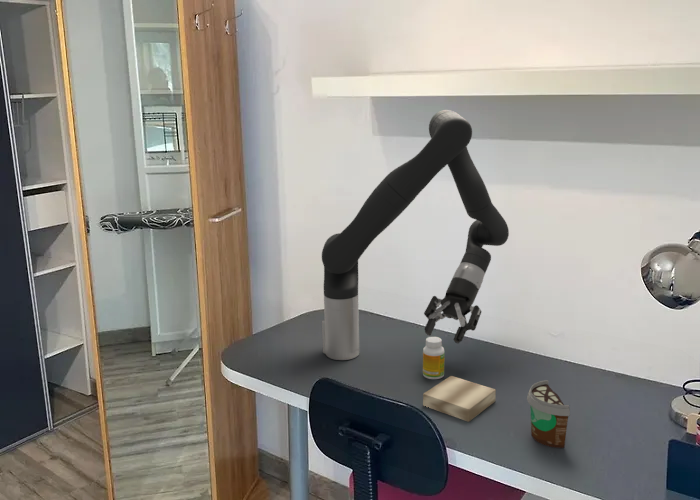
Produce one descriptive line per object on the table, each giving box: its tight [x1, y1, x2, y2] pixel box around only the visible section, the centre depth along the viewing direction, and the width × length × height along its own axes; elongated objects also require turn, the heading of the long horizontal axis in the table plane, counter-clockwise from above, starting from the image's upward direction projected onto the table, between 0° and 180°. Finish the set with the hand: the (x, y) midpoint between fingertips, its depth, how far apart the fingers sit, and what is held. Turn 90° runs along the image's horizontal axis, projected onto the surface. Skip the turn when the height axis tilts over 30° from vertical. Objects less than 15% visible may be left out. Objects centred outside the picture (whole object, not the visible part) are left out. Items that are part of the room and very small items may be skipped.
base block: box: [422, 375, 497, 423], centre depth 154 cm, size 12×12×3 cm
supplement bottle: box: [422, 336, 446, 380], centre depth 168 cm, size 5×5×10 cm
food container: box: [526, 379, 571, 449], centre depth 139 cm, size 12×6×10 cm, turn 5°
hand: (441, 337), depth 170 cm, fingers open, 8 cm apart
